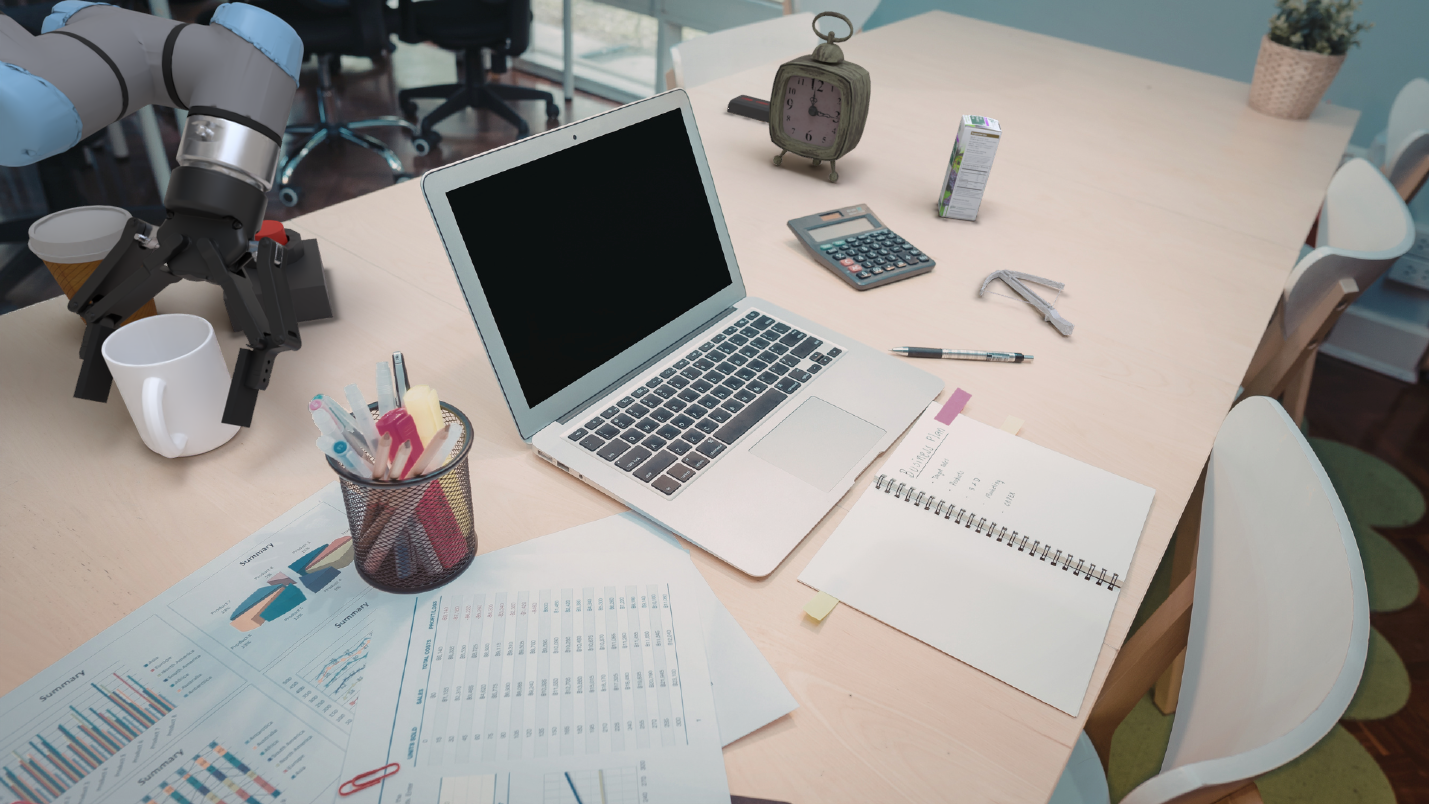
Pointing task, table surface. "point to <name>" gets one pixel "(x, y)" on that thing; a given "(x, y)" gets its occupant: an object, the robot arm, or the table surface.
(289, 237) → the red mushroom button box
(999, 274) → the crossbow
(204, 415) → the mug
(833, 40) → the tabletop clock
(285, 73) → the robot arm
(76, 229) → the disposable coffee cup
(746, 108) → the usb drive
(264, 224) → the button
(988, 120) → the syrup box
